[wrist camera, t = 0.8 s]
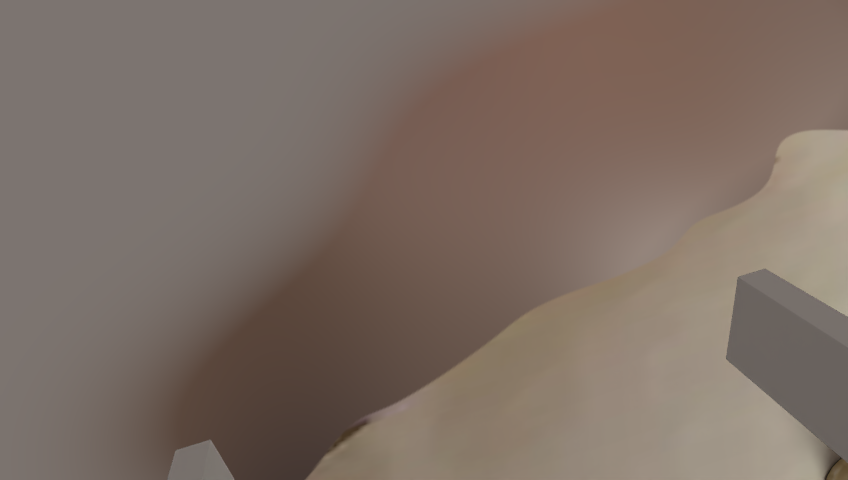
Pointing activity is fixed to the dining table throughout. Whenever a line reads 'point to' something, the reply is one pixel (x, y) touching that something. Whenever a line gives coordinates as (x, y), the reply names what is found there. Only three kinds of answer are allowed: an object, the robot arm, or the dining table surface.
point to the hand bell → (839, 471)
